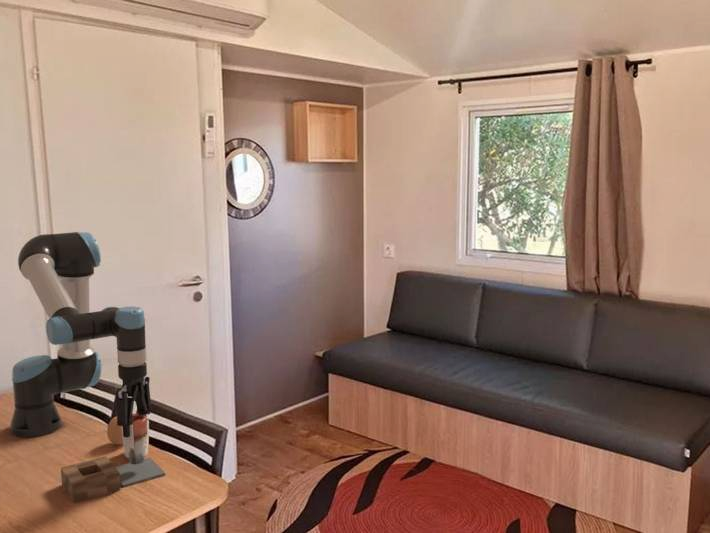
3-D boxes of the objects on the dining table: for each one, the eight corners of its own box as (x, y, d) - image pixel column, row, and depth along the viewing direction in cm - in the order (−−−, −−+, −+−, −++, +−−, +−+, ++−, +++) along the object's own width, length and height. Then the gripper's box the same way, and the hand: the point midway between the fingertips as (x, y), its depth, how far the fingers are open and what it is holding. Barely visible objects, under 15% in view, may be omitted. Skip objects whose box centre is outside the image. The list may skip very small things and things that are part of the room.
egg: (123, 449, 203) (122, 421, 202) (103, 447, 205) (102, 419, 203) (134, 440, 210) (132, 413, 208) (114, 438, 211) (113, 411, 210)
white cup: (141, 461, 196) (140, 429, 194) (117, 458, 198) (116, 426, 196) (154, 449, 204) (153, 418, 202) (131, 447, 205) (130, 416, 204)
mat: (109, 470, 190) (109, 468, 190) (150, 459, 197) (150, 457, 197) (122, 487, 180) (122, 485, 180) (165, 474, 188) (165, 472, 188)
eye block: (61, 484, 181) (60, 467, 180) (106, 472, 189) (105, 456, 188) (73, 503, 172) (72, 485, 171) (120, 489, 179) (119, 472, 178)
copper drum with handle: (152, 457, 191) (150, 411, 188) (141, 467, 184) (139, 420, 182) (132, 455, 192) (130, 409, 190) (120, 465, 186) (118, 418, 184)
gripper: (138, 352, 194) (141, 426, 197) (99, 372, 175) (103, 454, 179) (162, 354, 192) (164, 429, 196) (125, 374, 173) (129, 457, 177)
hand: (135, 441), depth 187 cm, fingers closed on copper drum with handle, 6 cm apart
